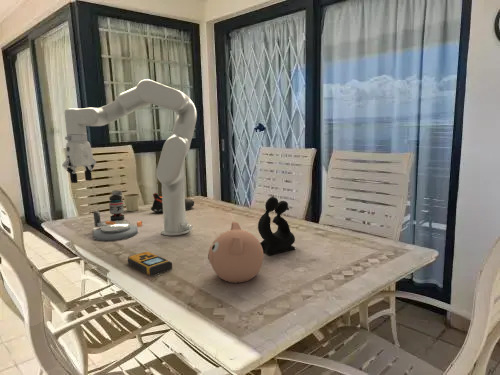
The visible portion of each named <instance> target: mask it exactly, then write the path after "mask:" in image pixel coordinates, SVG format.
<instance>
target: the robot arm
mask: <svg viewBox="0 0 500 375" xmlns="http://www.w3.org/2000/svg"><path fill="white" fill-rule="evenodd" d="M150 105H153V106H154V105H155V106H157V107H160V108H163V109H165V110H168V111H171V112H175V114H176V117H175V118H176V119H175V121H174V124H173V127H172V128H173V129H172V132H171V134H170V136H169V137H168V138H167V139H166V140H165V141H164V143H163V146H162V149H161V153H160V157H159V160H158V164H157V167H156V179H157V180H158V181H159V182H160V184H161V195H162V203H163V213H162V218H163V228H161V229H160V234H161V235H164V236H180V235H185V234H188V233H190V231H192V230H193V227H194V225H193V224H189V221H188V220H187V218H186V217H187V216H186V210H185V199H186V198H185V197H186V196H185V169H184V163H185V159H186V157H187V155H188V153H189V152H190V148H191V143H192V139H193V135H194V132H195V128H196V123H197V119H198V118H197V117H198V113H197V108H196V106H195V103H194V102H193V101H192V99H191V98H190V96H188V95H187V94H185V92H182V91H181V90H178V89H175V88H174V87H170V86H167V85H164V84H163V83H160V82H157V81H154V80H152V79H149V78H147V79H146V78H145V79H142V80H140V81H139V82H138V83H137V85H136V86H135V87H132V88H130V89H128V90H126V91H123V92H121V93H119V94H117V97H116V98H115V99H114V100H113V101H111V102H110V103H108V104H105V105H103V106H100V107H85V108H78V107H77V108H74V107H73V108H66V109H64V119H65V128H66V129H65V130H66V136H65V137H64V140H66V141H67V142H66V144H65V161H64V162H63V163H62V168H63V169H65V171H67V172H68V174H69V177H70V182H71V184H78V174H77V173H76V170H77V168H78V167H83V168H84V170H85V171H84V177H85V181H89V182H90V181H93V178H92V172H93V169H94V167H95V165H96V164H97V161H96V159H94V155H93V154H94V153H93V150H92V147H91V143H90V142H89V141H88V133H87V127H103V126H107V125H108V124H111V123H113V122H115V121H118V120H120V119H121V118H123V117H125V116H128V115H129V114H131V113H133V112H136V111H138V110H140V109H143V108H145V107H147V106H150Z"/></svg>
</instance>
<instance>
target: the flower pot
mask: <svg viewBox="0 0 500 375" xmlns="http://www.w3.org/2000/svg"><path fill="white" fill-rule="evenodd" d="M140 196H141V194H140V193H127V194H126V193H125V194H123V195H122V199H123V202H124V205H125V208H126V209H125V210H126V211H127V212H136V211H138V210H139V208H140V207H139V204H140V202H139V201H140Z"/></svg>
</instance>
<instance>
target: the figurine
mask: <svg viewBox="0 0 500 375" xmlns="http://www.w3.org/2000/svg"><path fill="white" fill-rule="evenodd" d="M264 206H265V212H264V213H263V214H262V216H260V218H259V220H258V223H257V230H258V233H259V235H260V237H261V238H262V241H261V242H260V244H261V246H262V249H263V253H265V254H266V255H268V256H271V255H274V254H275V255H276V254H279V253H284V252H288V251H293V250H292V249H294V250H296V249H295V248H296V247H295V246H293V245H294V243H295V241H296V237H295V235H294V233H293V232H291V229H290V228H291V227H290V225H289V223H288V221H287V220H286V219H285V218H283V216H281V215H282V214H283V213H285V212H287V211H290V208H289V202H287V201H286V200H280V201H279V200H278V198H277V197H275V196H271V197H269V198H268V199H267V200H266V202H265V205H264ZM273 211H274V213H275V214H276V215H275V216H274V217H273V219H272V218H271V217H270V213H271V212H273ZM271 220H272V223H274V224H275V225H276V226H277V229H276V230H275V232H273V231H272V228H271Z"/></svg>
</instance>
